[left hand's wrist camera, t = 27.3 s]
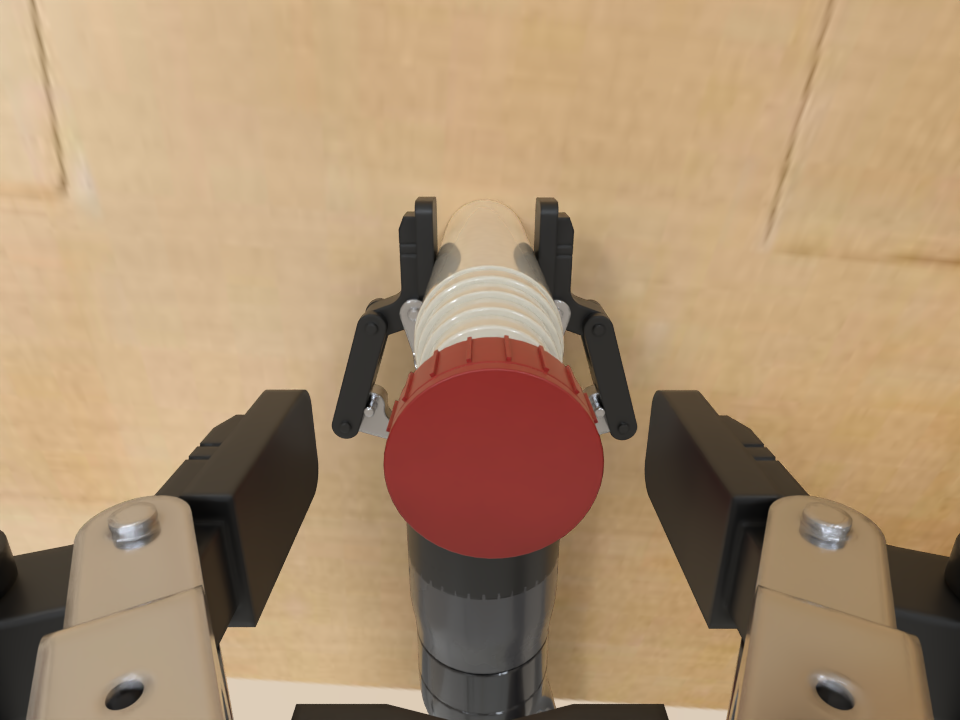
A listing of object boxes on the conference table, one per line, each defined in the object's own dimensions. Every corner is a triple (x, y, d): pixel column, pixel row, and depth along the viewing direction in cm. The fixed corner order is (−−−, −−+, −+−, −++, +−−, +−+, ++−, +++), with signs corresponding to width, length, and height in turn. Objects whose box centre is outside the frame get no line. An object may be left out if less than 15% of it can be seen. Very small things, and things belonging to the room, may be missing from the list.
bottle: (434, 267, 31) (356, 510, 12) (458, 188, 30) (414, 313, 10) (510, 291, 31) (558, 563, 12) (537, 214, 30) (641, 382, 11)
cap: (351, 422, 12) (333, 465, 10) (500, 290, 11) (503, 317, 9) (485, 540, 13) (485, 595, 11) (631, 430, 12) (653, 475, 10)
